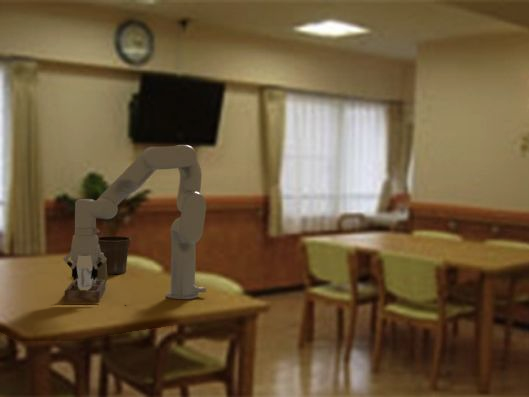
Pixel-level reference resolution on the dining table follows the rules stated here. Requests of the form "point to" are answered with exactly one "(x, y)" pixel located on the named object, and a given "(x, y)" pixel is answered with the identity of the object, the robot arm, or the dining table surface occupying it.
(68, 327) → the dining table surface
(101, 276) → the squeeze bottle
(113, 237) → the plant pot
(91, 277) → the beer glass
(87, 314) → the dining table surface
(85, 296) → the carrier
